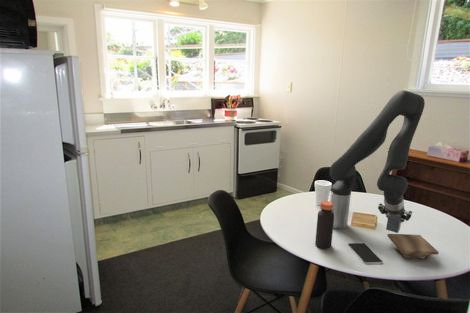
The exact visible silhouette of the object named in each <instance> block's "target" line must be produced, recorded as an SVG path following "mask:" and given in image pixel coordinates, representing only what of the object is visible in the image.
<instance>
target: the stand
mask: <svg viewBox="0 0 470 313" xmlns="http://www.w3.org/2000/svg"><path fill="white" fill-rule="evenodd" d="M387 237H388V239H389V240H390V241H391V242H392V243H393V244H394V245H395V248H396V249H397V250H398V251H399V253H401V255H402V256H403V257H404V258H409V259H410V258H414V259H426V256H427V255H434V256H435V255H436V256H437V255H439V254H440V253H439V251H438V249H436V248H435V247H434V246H433V245H432V244H430V242H428V241H427V239H425V238H424V237H423V236H422V235H421V234H411V233H410V234H408V233H406V234H405V233H404V234H403V233H387Z"/></svg>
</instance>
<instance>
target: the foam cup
mask: <svg viewBox="0 0 470 313" xmlns="http://www.w3.org/2000/svg"><path fill="white" fill-rule="evenodd" d="M332 186H333V184H332V182H330V181H328V180H323V179H322V180H320V179H319V180H315V181H314V191H315V192H314V195H315V204H316V205H317V206H320V207H321V202H322V201H329V199H330V198H329V196H330V195H331V188H332Z"/></svg>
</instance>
